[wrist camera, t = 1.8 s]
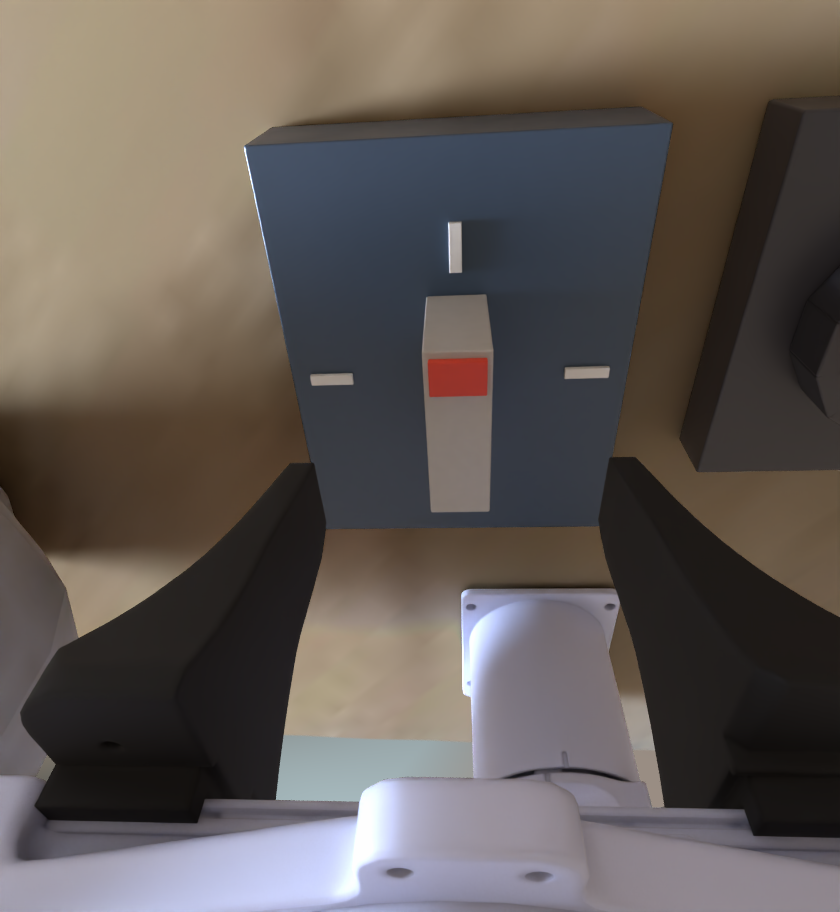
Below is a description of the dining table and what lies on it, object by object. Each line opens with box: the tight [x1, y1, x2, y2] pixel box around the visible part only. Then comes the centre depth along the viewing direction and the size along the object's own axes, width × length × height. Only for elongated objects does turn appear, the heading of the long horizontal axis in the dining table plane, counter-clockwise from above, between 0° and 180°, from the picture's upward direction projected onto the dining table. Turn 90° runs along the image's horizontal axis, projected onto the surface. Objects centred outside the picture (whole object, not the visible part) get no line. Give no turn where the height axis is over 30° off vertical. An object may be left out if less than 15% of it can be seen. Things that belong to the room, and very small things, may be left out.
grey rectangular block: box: [422, 294, 493, 512], centre depth 18 cm, size 6×2×4 cm, turn 3°
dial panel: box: [244, 107, 673, 529], centre depth 20 cm, size 14×11×3 cm
